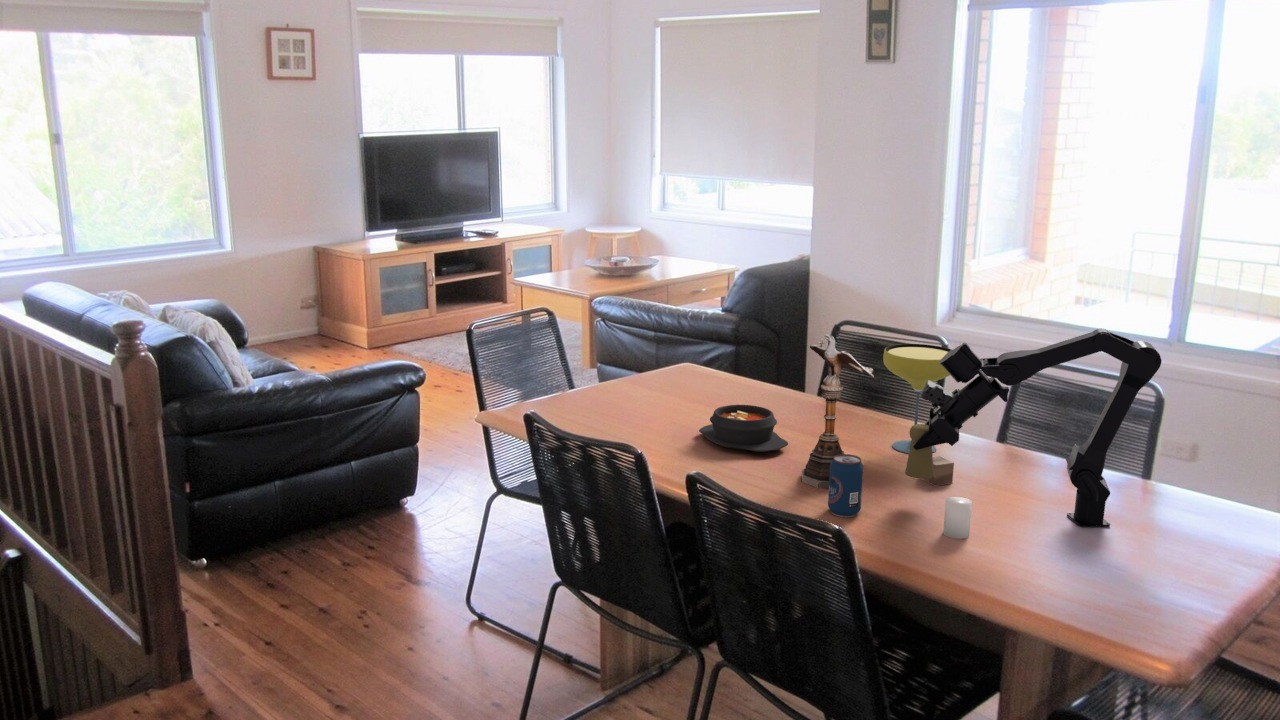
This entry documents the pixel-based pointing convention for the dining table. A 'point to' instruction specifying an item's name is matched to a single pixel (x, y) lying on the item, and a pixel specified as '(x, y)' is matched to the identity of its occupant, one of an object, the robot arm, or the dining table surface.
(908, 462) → the cork
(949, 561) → the dining table surface
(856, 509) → the soda can
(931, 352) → the cocktail glass
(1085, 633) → the dining table surface
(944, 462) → the walnut block
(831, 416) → the bird statue
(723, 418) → the casserole
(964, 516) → the off-white cylinder
